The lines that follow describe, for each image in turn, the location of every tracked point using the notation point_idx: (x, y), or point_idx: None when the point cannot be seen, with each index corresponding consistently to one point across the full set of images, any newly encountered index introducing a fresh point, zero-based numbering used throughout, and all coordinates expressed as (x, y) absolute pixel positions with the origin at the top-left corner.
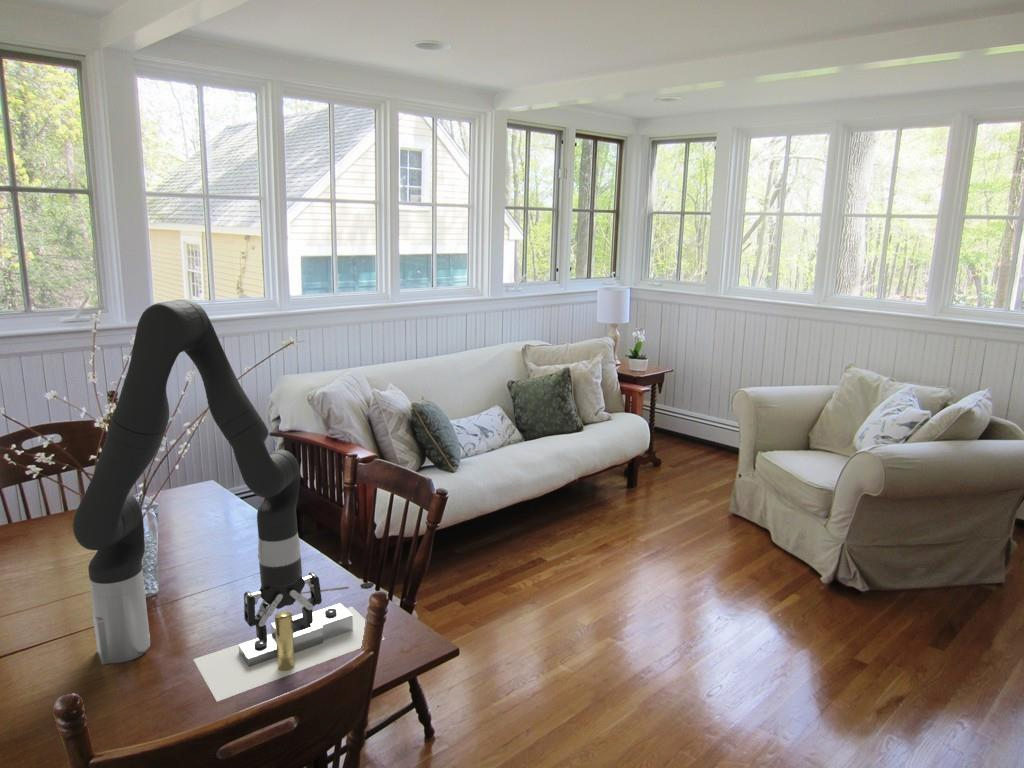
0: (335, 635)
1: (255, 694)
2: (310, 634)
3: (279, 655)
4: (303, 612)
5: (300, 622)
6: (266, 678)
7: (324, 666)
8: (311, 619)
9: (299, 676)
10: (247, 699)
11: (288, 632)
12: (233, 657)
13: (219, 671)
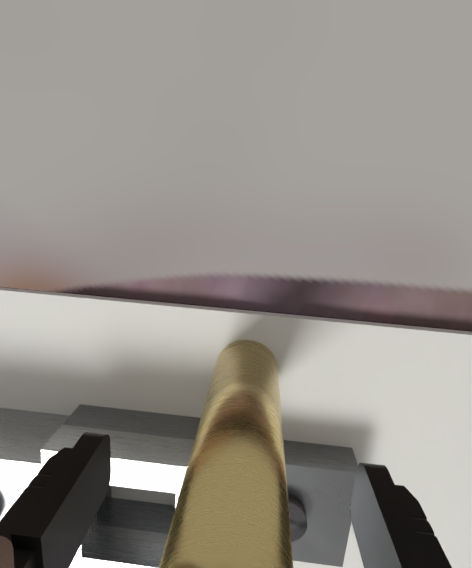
0: (25, 412)
1: (407, 299)
2: None
3: (278, 394)
4: (65, 552)
5: (103, 539)
6: (339, 348)
7: (132, 285)
8: (51, 469)
9: (232, 291)
10: (444, 291)
11: (228, 452)
12: None
13: (440, 487)
